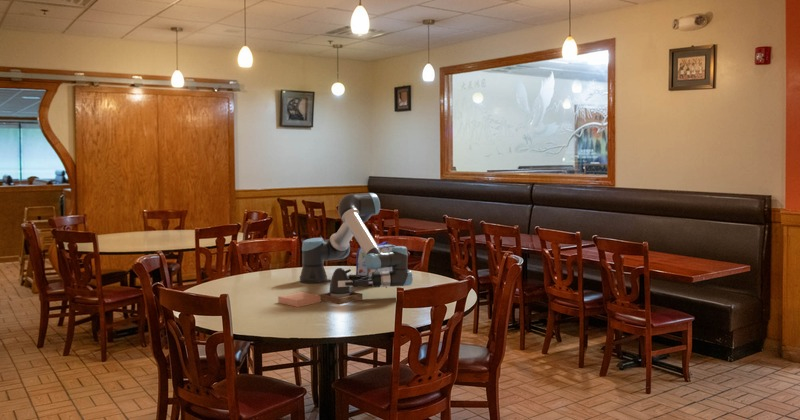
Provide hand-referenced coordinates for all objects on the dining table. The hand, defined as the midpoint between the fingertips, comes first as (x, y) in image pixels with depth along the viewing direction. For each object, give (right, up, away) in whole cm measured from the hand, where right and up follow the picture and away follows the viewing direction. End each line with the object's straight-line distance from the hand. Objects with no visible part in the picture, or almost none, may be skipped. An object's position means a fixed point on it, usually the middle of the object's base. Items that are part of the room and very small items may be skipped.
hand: (336, 281), depth 323 cm
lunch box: (+18, -6, +43) cm, 47 cm away
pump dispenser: (+2, -9, +1) cm, 9 cm away
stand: (-17, -9, -4) cm, 20 cm away
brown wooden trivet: (+2, -9, +1) cm, 9 cm away
